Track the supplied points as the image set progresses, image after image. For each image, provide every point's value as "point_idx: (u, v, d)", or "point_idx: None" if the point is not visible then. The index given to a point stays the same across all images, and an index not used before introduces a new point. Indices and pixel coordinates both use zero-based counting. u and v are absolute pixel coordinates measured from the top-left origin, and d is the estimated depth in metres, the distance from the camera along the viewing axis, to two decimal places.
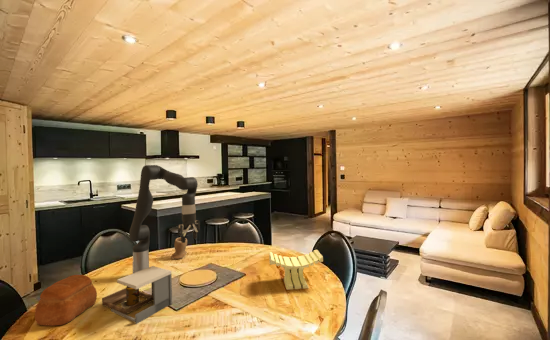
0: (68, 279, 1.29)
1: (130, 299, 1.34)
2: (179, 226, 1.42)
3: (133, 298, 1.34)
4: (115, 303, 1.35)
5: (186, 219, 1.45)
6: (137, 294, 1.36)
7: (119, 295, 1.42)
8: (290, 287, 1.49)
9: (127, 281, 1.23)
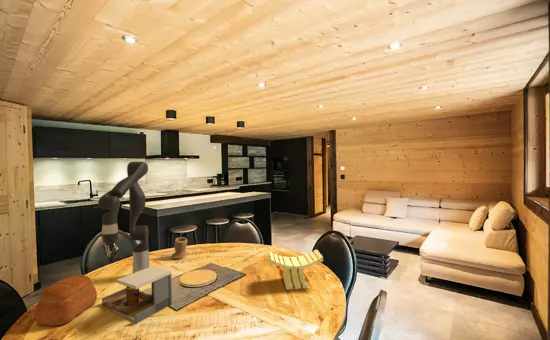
0: (68, 279, 1.29)
1: (130, 299, 1.34)
2: (116, 249, 1.42)
3: (133, 298, 1.34)
4: (115, 303, 1.35)
5: (116, 237, 1.44)
6: (137, 294, 1.36)
7: (119, 295, 1.42)
8: (290, 287, 1.49)
9: (127, 281, 1.23)
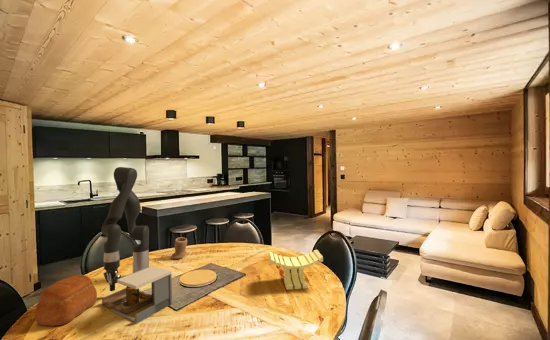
0: (68, 279, 1.29)
1: (130, 299, 1.34)
2: (118, 277, 1.42)
3: (133, 298, 1.34)
4: (115, 303, 1.35)
5: (118, 265, 1.45)
6: (137, 294, 1.36)
7: (119, 295, 1.42)
8: (290, 287, 1.49)
9: (127, 281, 1.23)
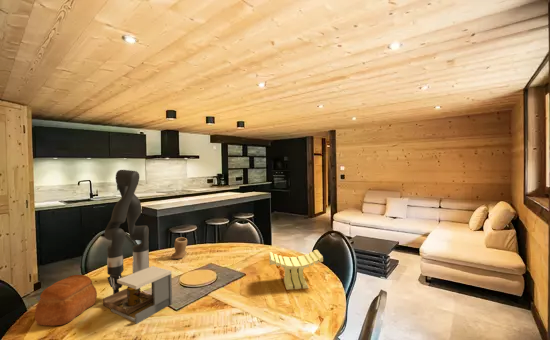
0: (68, 279, 1.29)
1: (131, 299, 1.34)
2: None
3: (134, 299, 1.34)
4: (116, 303, 1.34)
5: (122, 270, 1.42)
6: (138, 294, 1.36)
7: (120, 295, 1.42)
8: (290, 287, 1.49)
9: (127, 281, 1.23)
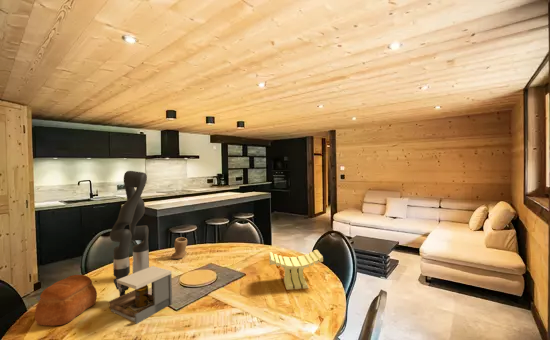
0: (68, 279, 1.29)
1: (141, 300, 1.32)
2: None
3: (144, 299, 1.33)
4: (123, 306, 1.31)
5: (128, 272, 1.39)
6: (147, 295, 1.35)
7: (126, 298, 1.39)
8: (290, 287, 1.49)
9: (127, 281, 1.23)
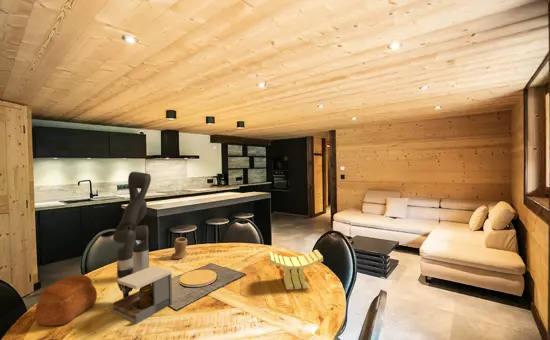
0: (68, 279, 1.29)
1: (146, 301, 1.32)
2: None
3: (149, 300, 1.33)
4: (127, 308, 1.30)
5: (132, 273, 1.38)
6: None
7: (130, 299, 1.37)
8: (290, 287, 1.49)
9: (127, 281, 1.23)
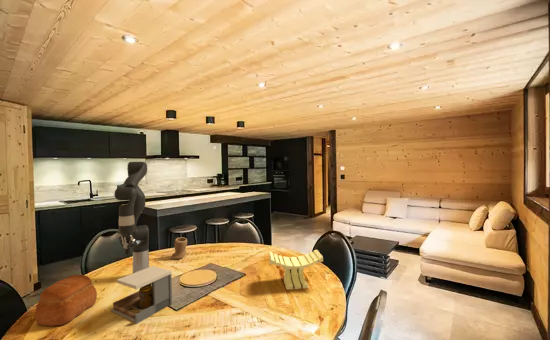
0: (68, 279, 1.29)
1: (146, 301, 1.32)
2: (133, 241, 1.40)
3: (149, 300, 1.33)
4: (127, 308, 1.30)
5: (133, 229, 1.43)
6: None
7: (130, 299, 1.37)
8: (290, 287, 1.49)
9: (127, 281, 1.23)
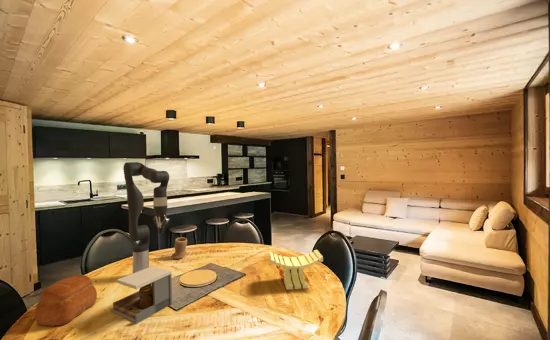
0: (68, 279, 1.29)
1: (146, 301, 1.32)
2: (167, 220, 1.51)
3: (149, 300, 1.33)
4: (127, 308, 1.30)
5: (166, 210, 1.54)
6: None
7: (130, 299, 1.37)
8: (290, 287, 1.49)
9: (127, 281, 1.23)
